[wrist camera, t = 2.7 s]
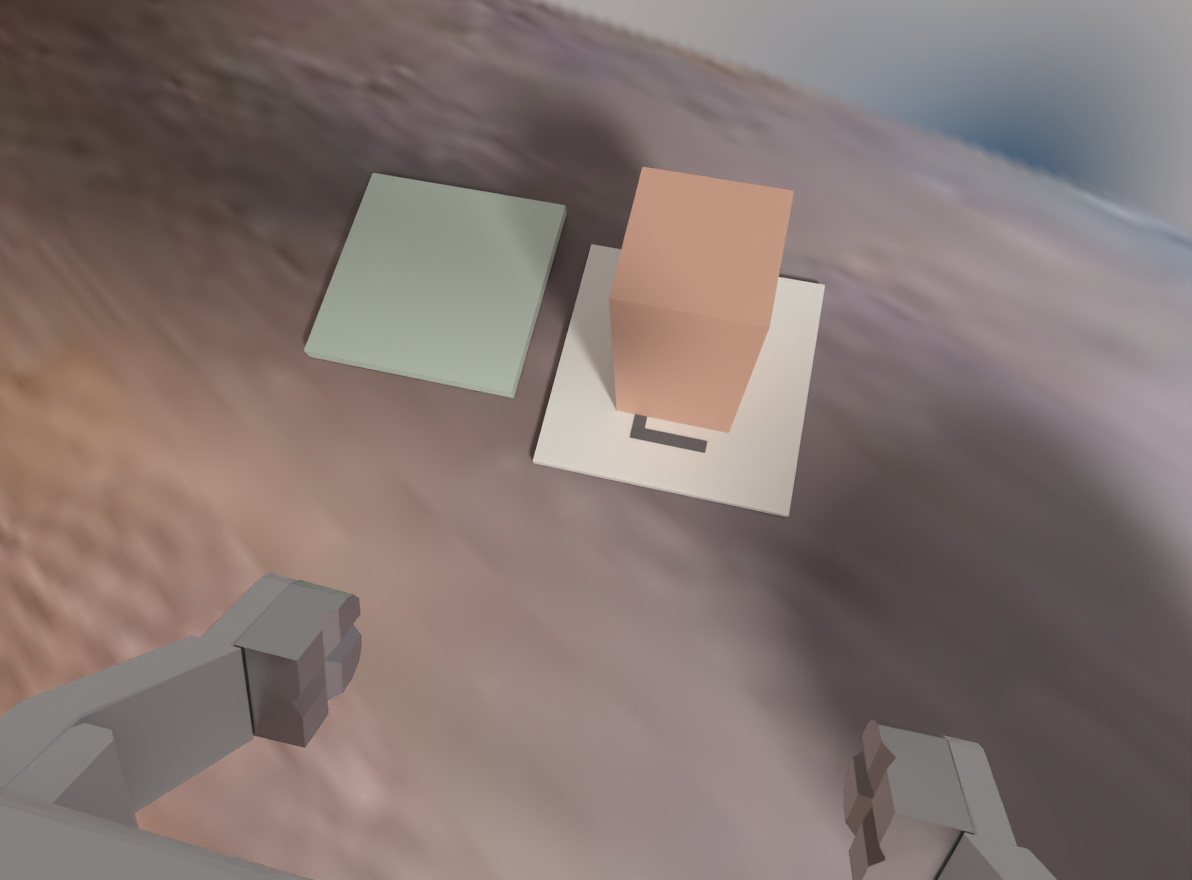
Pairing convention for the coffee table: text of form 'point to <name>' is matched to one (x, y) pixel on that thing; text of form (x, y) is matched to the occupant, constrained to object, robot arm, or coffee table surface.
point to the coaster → (439, 284)
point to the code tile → (674, 450)
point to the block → (694, 295)
